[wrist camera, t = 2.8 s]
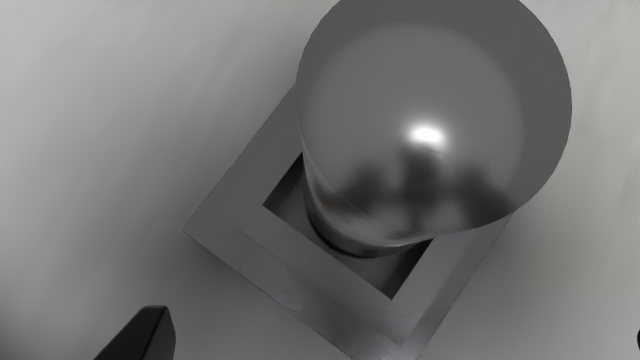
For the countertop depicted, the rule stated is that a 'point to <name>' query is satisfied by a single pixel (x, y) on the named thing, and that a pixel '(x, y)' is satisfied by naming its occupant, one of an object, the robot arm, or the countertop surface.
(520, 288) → the countertop surface
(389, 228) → the grey ridged cylinder
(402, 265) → the stand sleeve
